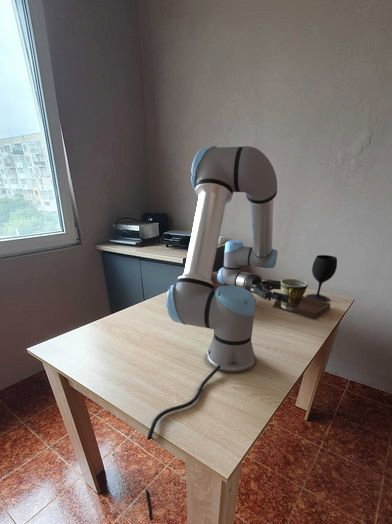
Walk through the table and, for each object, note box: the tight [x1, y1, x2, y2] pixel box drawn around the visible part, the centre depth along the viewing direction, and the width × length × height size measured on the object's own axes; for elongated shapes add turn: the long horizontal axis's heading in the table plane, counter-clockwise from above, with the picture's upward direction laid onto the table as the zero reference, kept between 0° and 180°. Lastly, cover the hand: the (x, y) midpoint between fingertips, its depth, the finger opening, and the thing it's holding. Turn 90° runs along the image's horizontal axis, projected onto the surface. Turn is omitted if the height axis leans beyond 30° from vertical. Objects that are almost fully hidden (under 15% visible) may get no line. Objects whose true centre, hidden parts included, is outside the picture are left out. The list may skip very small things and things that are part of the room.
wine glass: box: [305, 254, 338, 303], centre depth 137 cm, size 10×10×20 cm
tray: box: [273, 295, 331, 321], centre depth 131 cm, size 16×20×3 cm
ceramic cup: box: [280, 278, 309, 310], centre depth 112 cm, size 13×10×10 cm
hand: (296, 295), depth 111 cm, fingers closed on ceramic cup, 12 cm apart
